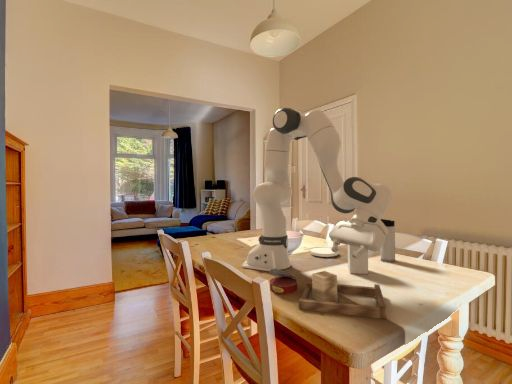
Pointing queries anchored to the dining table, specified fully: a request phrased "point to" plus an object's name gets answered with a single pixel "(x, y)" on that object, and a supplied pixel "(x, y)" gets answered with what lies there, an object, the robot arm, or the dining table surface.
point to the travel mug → (388, 242)
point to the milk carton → (357, 261)
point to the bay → (348, 309)
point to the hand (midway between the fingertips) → (343, 254)
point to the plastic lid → (323, 252)
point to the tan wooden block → (324, 286)
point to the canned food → (282, 282)
